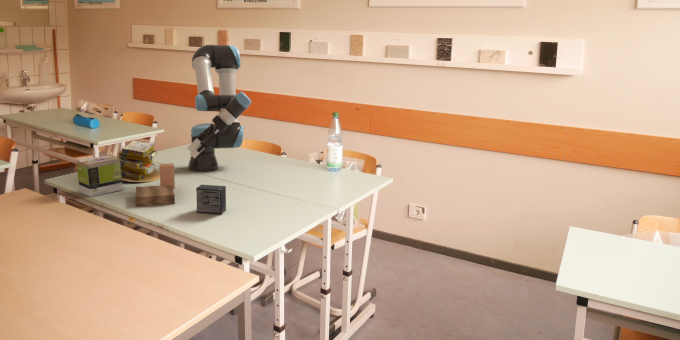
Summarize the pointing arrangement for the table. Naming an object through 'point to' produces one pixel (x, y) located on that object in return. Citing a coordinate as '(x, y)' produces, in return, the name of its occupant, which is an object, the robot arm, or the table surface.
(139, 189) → the walnut plinth
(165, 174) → the terracotta block
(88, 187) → the tea box
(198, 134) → the robot arm
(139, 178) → the stacked packets on plate
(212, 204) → the small box
